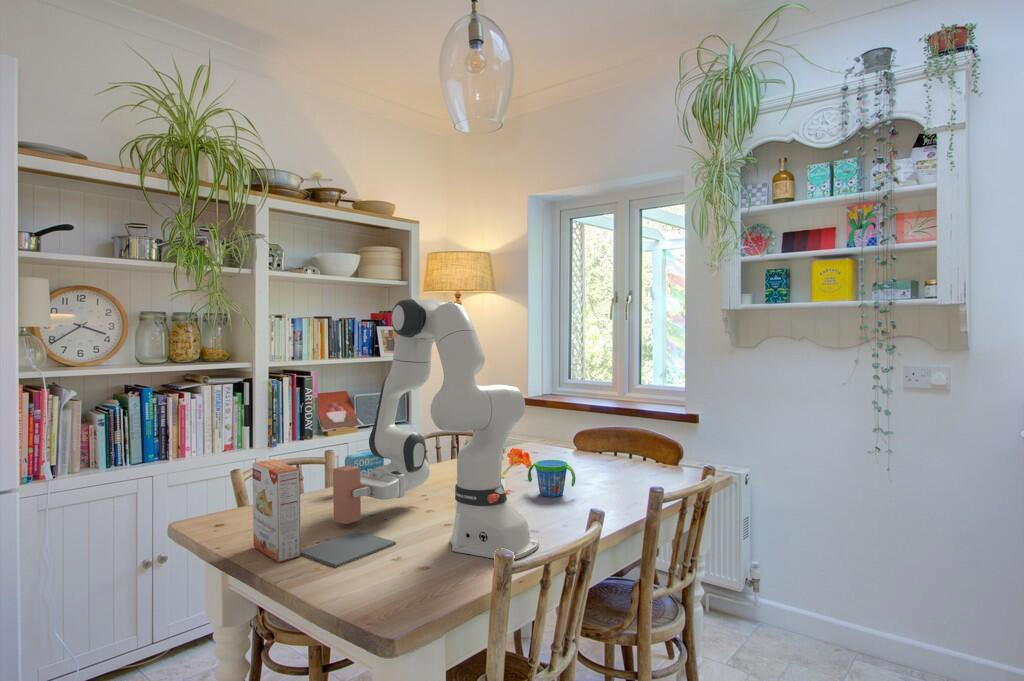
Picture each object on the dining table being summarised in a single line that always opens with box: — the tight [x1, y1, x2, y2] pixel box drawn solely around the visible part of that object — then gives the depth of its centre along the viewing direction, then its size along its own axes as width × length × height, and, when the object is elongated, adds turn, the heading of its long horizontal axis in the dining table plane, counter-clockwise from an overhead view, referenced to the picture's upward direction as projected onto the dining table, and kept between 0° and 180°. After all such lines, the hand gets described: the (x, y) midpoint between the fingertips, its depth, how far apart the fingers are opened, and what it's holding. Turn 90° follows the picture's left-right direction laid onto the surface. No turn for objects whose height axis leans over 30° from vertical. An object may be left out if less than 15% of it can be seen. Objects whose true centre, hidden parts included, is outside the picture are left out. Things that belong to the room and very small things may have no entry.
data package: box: [344, 450, 385, 475], centre depth 201 cm, size 12×4×12 cm, turn 134°
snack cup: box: [527, 459, 577, 498], centre depth 197 cm, size 16×10×10 cm
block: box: [332, 465, 362, 525], centre depth 165 cm, size 5×5×14 cm
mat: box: [301, 530, 397, 568], centre depth 148 cm, size 14×18×1 cm
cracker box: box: [251, 459, 302, 563], centre depth 146 cm, size 14×6×21 cm, turn 45°
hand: (344, 492), depth 164 cm, fingers closed on block, 5 cm apart
